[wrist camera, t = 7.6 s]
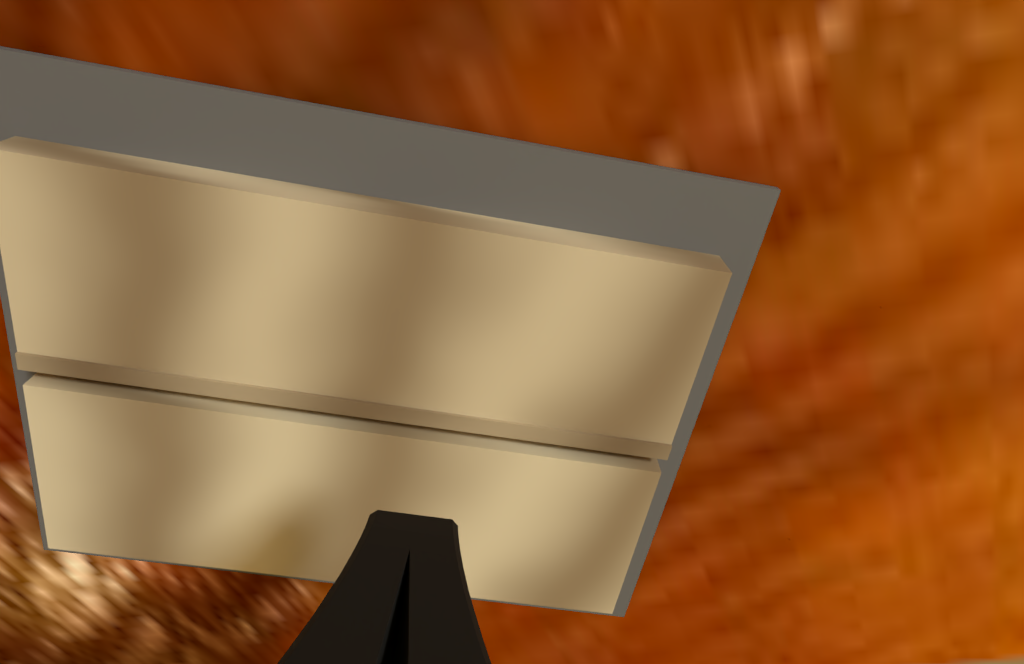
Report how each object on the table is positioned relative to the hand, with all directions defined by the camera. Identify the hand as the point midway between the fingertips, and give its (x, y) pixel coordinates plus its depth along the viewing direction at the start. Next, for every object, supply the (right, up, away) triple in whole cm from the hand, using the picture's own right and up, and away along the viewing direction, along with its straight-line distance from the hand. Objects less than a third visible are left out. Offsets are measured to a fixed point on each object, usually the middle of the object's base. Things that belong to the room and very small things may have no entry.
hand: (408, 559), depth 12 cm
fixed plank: (-2, +5, +8) cm, 10 cm away
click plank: (-3, -1, +11) cm, 11 cm away
